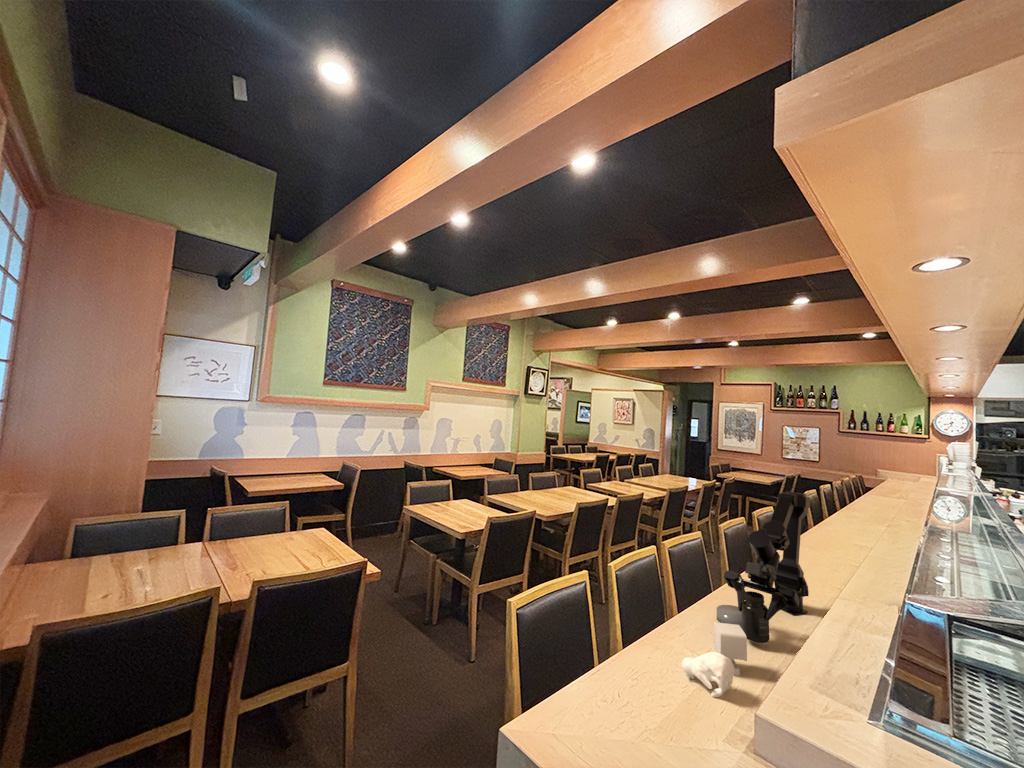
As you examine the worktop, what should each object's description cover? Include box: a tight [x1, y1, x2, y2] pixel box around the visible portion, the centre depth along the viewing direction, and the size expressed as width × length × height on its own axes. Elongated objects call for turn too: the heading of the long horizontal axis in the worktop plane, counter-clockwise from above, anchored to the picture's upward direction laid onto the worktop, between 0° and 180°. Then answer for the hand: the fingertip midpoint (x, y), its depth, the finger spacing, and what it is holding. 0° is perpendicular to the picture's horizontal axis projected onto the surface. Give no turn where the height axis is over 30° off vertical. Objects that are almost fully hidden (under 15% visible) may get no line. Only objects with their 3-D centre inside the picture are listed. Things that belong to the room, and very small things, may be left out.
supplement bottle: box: [741, 590, 771, 644], centre depth 120 cm, size 7×7×12 cm
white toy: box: [681, 651, 735, 699], centre depth 101 cm, size 6×8×12 cm
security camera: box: [713, 621, 748, 677], centre depth 108 cm, size 6×7×10 cm
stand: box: [716, 604, 742, 628], centre depth 133 cm, size 10×10×3 cm
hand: (753, 615), depth 120 cm, fingers closed on supplement bottle, 7 cm apart
